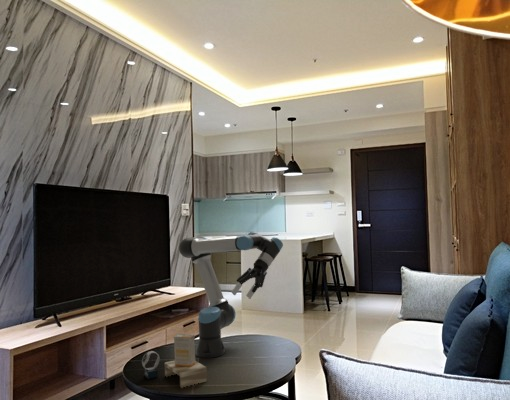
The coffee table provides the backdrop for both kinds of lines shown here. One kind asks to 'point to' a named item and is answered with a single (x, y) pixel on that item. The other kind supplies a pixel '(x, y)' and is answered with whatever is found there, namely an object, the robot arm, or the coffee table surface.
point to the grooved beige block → (187, 373)
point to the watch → (150, 371)
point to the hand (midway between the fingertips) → (240, 295)
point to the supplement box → (184, 350)
